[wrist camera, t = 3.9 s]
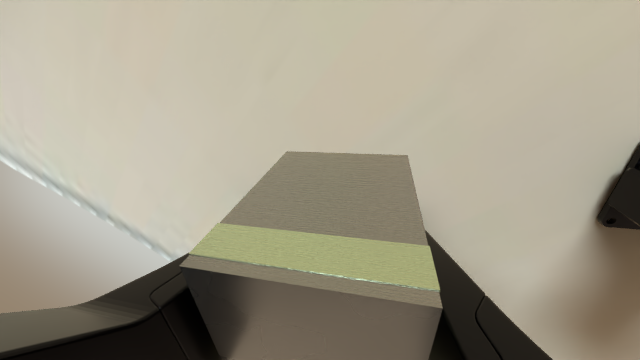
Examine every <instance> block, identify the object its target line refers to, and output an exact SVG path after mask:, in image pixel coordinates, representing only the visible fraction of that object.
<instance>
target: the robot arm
mask: <svg viewBox="0 0 640 360" xmlns="http://www.w3.org/2000/svg"><path fill="white" fill-rule="evenodd" d="M610 218H611V219H610ZM608 219H610V220H608ZM597 220H598V221H599V222H600V223H601V224H602V225H604V226H606V227H616V228H629V229H640V146H639V148H638V149H637V151H636V153H635V155H634V156H633V158H632V160H631V161H630V163H629V165H628V167H627V168H626V170H625V172H624V173H623V175H622V177H621V179H620V180H619V182H618V184H617V185H616V187H615V189H614V190H613V192H612V194H611V196H610V197H609V199H608V201H607V202H606V204H605V206H604V208H603V209H602V211H601V213H600V214H599V216H598V219H597ZM425 234H426V238H427V242H428V246H430V249H431V253H432V257H433V262H434V266H435V270H436V274H437V278H438V283H439V287H440V293H439V294H440V299H441V303H442V307H443V309H442V313H441V316H440V320H439V323H438V327H437V331H436V334H435V338H434V341H433V345H432V348H431V352H430V355H429V359H428V360H553V359H552V358H550V357H549V356H548V355H547V354H546V353H545V352H544V351H543V350H542V349H541V348H540V347H538V346H537V345H536V344H535V343H534V342H533V341H532V340H531V339H530V338H529V337H528V336H527V335H526V334H525V333H524V332H522V331H521V330H520V329H519V328H518V327H517V326H516V325H515V324H514V323H513V322H512V321H511V320H510V319H509V318H508V317H507V316H506V315H505V314H504V313H503V312H502V311H501V310H500V309H499V308H498V307H497V306H496V305H495V303H494V302H493V301H492V300H491V299H490V298H489V297H488V296H485V293H484V292H483V291H482V290H481V289H480V288H479V287H478V286H477V284H476V283H475V282H474V281H473V280H472V279H471V278H470V277H469V276H468V275H467V274H466V273H465V272H464V271H463V270H462V269H461V267H460V266H459V265H458V264H457V263H456V262H455V261H454V260H453V259H452V258H451V257H450V256H449V255H448V254H447V253H446V252H445V250H444V249H443V248H442V247H441V246H440V245H439V244H438V243H437V242H436V241H435V240H434V239H433V238H432V237H431V236H430V235H429V233H428V232H427V231H426V230H425ZM188 256H189V253H187V254H186V255H184V256H182V257H180V258H178V259H176V260H175V261H173V262H171V263H169V264H167V265H165V266H163V267H161V268H159V269H157V270H155V271H153V272H151V273H149V274H147V275H145V276H143V277H141V278H138V279H136V280H134V281H132V282H130V283H128V284H126V285H124V286H122V287H120V288H117V289H115V290H113V291H111V292H109V293H107V294H105V295H103V296H100V297H98V298H96V299H94V300H91V301H88V302H85V303H82V304H78V305H74V306H69V307H62V308H54V309H43V310H32V311H22V312H12V313H1V314H0V360H221V358H220V356H219V354H218V351H217V349H216V347H215V345H214V342H213V340H212V338H211V336H210V334H209V331H208V329H207V327H206V325H205V322H204V320H203V318H202V316H201V313H200V311H199V309H198V307H197V305H196V302H195V300H194V298H193V296H192V293H191V291H190V289H189V287H188V285H187V282H186V280H185V278H184V276H183V273H182V271H181V269H180V267H179V266H180V265H181V264H182V263H183V261H184V260H185V259H186V258H187V257H188Z"/></svg>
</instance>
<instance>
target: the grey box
mask: <svg viewBox="0 0 640 360" xmlns="http://www.w3.org/2000/svg"><path fill="white" fill-rule="evenodd" d="M179 267H180V269H181V271H182V273H183V276H184V278H185V280H186V282H187V285H188V287H189V289H190V291H191V293H192V296H193V298H194V300H195V302H196V305H197V307H198V309H199V311H200V313H201V316H202V318H203V320H204V322H205V325H206V327H207V329H208V331H209V334H210V336H211V338H212V340H213V342H214V345H215V347H216V349H217V351H218V354H219V356H220V358H221V360H428V359H429V355H430V352H431V348H432V345H433V341H434V338H435V334H436V331H437V327H438V323H439V320H440V316H441V313H442V309H443V307H442V303H441V299H440V294H439V293H440V287H439V283H438V278H437V274H436V270H435V266H434V262H433V257H432V253H431V249H430V246H428V242H427V238H426V234H425V229H424V225H423V220H422V216H421V212H420V207H419V203H418V199H417V194H416V190H415V186H414V181H413V177H412V173H411V168H410V164H409V160H408V155H381V154H349V153H318V152H286V153H285V154H284V155H283V156H282V157H281V158H280V159H279V160H278V162H277V163H276V164H275V165H274V166H273V167H272V168H271V169H270V170H269V171H268V172H267V173H266V174H265V175H264V176H263V177H262V179H261V180H260V181H259V182H258V183H257V184H256V185H255V186H254V187H253V188H252V189H251V190H250V191H249V192H248V193H247V194H246V196H245V197H244V198H243V199H242V200H241V201H240V202H239V203H238V204H237V205H236V206H235V207H234V208H233V209H232V210H231V211H230V213H229V214H228V215H227V216H226V217H225V218H224V219H223V220H222V221H221V222H220V223H218V224H217V225H216V226H215V227H214V228H213V229H212V230H211V231H210V232H209V233H208V234H207V235H206V236H205V237H204V238H203V239H202V240H201V241H200V242H199V244H198V245H197V246H196V247H195V248H194V249H193V250H192V251H191V252H190V253H189V256H188V257H187V258H186V259H185V260H184V261H183V263H182V264H181V265H180V266H179Z"/></svg>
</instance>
